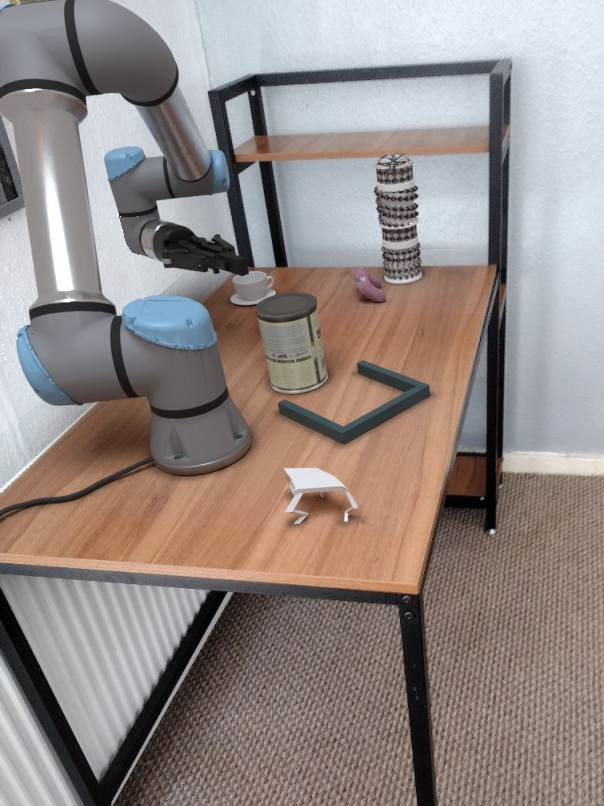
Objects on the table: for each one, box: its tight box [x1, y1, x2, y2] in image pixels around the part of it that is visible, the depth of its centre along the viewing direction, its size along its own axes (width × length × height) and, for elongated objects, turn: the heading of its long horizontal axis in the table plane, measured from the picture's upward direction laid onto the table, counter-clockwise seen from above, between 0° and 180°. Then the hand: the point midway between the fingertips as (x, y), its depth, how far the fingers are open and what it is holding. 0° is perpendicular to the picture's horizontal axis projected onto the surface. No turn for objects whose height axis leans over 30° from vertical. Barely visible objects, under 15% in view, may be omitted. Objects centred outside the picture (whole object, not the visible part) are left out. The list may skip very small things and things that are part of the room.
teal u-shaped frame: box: [277, 359, 431, 445], centre depth 128 cm, size 16×19×2 cm
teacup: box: [230, 270, 277, 306], centre depth 171 cm, size 10×10×5 cm
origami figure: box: [283, 467, 359, 525], centre depth 104 cm, size 12×8×5 cm
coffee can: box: [254, 291, 329, 395], centre depth 134 cm, size 10×10×14 cm
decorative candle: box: [373, 152, 423, 285], centre depth 167 cm, size 9×9×25 cm
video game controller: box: [352, 266, 387, 303], centre depth 165 cm, size 10×5×7 cm, turn 6°
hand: (244, 267), depth 134 cm, fingers closed
